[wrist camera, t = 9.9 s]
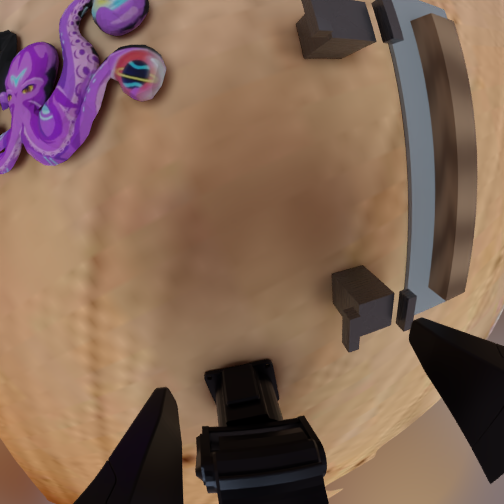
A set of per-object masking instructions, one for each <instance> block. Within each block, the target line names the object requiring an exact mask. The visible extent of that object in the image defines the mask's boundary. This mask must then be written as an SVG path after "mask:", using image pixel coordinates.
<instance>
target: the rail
mask: <svg viewBox="0 0 504 504" xmlns="http://www.w3.org/2000/svg"><path fill="white" fill-rule="evenodd" d="M410 22H411V25H412V29H413V32H414V36H415V39H416V43H417V47H418V51H419V55H420V59H421V64H422V68H423V73H424V78H425V84H426V89H427V95H428V102H429V109H430V117H431V125H432V135H433V147H434V165H435V219H434V237H433V250H432V260H431V269H430V277H429V284H428V288H430V289H431V290H432V291H434V292H435V293H436V294H437V295H439V296H440V297H441V298H442V299H444V300H445V301H447V300H449V299H451V298H453V297H455V296H458V295H460V294H462V293H464V292H465V287H466V282H467V277H468V271H469V266H470V259H471V253H472V246H473V238H474V228H475V217H476V202H477V146H476V131H475V120H474V111H473V104H472V97H471V90H470V85H469V79H468V74H467V69H466V65H465V60H464V56H463V52H462V48H461V44H460V41H459V37H458V34H457V30H456V27H455V24H454V21H452V20H449V19H446V18H444V17H441V16H438V15H436V14H433V13H430V14H427V15H424V16H422V17H419V18H417V19H414V20H412V21H410Z"/></svg>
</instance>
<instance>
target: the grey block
mask: <svg viewBox="0 0 504 504" xmlns="http://www.w3.org/2000/svg"><path fill="white" fill-rule="evenodd" d="M301 1H302V4H303V8H304V11H305V14H304V16H303V17H302V18H301V19H300V20H299V21H298V22H297V23H296V27H297V31H298V35H299V39H300V43H301V48H302V52H303V57H304V59H316V58H327V59H342V58H344V57H346V56H348V55H350V54H352V53H354V52H356V51H358V50H360V49H362V48H364V47H366V46H368V45H371V44H373V43H375V42H376V38H375V34H374V31H373V27H372V24H371V20H370V17H369V14H368V11H367V7H366V4H365V2H361V1H354V0H301ZM371 4H372V7H373V10H374V13H375V16H376V19H377V23H378V26H379V30H380V33H381V37H382V41H383V43H388V44H395V43H398V42H400V41H403V40H404V38H403V34H402V31H401V27H400V24H399V21H398V17H397V14H396V11H395V8H394V5H393V2H392V0H376V1H374V2H373V3H371Z"/></svg>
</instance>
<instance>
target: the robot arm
mask: <svg viewBox="0 0 504 504" xmlns="http://www.w3.org/2000/svg"><path fill="white" fill-rule="evenodd" d="M409 342H410V344H411V346H412V348H413V350H414V351H415V353H416V355H417V357H418V359H419V361H420V363H421V365H422V367H423V369H424V370H425V372H426V374H427V375H428V377H429V379H430V380H431V382H432V383H433V385H434V386H435V388H436V389H437V391H438V393H439V394H440V396H441V397H442V399H443V400H444V402H445V404H446V405H447V407H448V408H449V410H450V412H451V413H452V415H453V417H454V418H455V420H456V422H457V423H458V425H459V427H460V429H461V430H462V432H463V434H464V436H465V437H466V439H467V441H468V443H469V444H470V446H471V447H472V450H473V452H474V454H475V456H476V458H477V459H478V461H479V463H480V465H481V466H482V469H483V471H484V473H485V475H486V477H487V479H488V481H489V482H490V484H491V483H493V482H494V481H495V480H496V479H498V478H499V477H500V476H501V475H502V474H503V473H504V346H502V345H499V344H495V343H493V342H490V341H488V340H485V339H482V338H479V337H476V336H473V335H470V334H468V333H465V332H462V331H459V330H456V329H453V328H450V327H448V326H445V325H442V324H439V323H436V322H433V321H431V320H428V319H425V318H418V319H416V320H414V321H413V322H412V324H411V329H410V334H409ZM266 364H268V365H266ZM209 376H211V377H209ZM204 379H205V381H206V384H207V386H208V388H209V390H210V393H211V395H212V397H213V399H214V401H215V403H216V406H217V416H218V426H219V427H209V426H202V434H200V436H198V437H196V444H197V457H196V469H195V470H196V476H197V477H198V478H200V479H201V480H202V481H203V482H204V485H206V487H207V491H208V493H218V500H219V504H328V503H329V502H328V498H327V494H326V490H325V485H324V479H323V477H324V476H325V474H326V470H327V461H326V455H325V451H324V448H323V446H322V444H321V442H320V440H319V439H318V437H317V435H316V434H315V432H314V431H313V429H312V428H311V426H310V424H309V423H308V421H307V420H306V418H305V416H299V417H297V418H293V419H287V420H283V418H282V414H281V411H280V408H279V404H278V400H279V394H278V389H277V384H276V379H275V374H274V368H273V364H272V361H271V360H269V359H266V360H262V361H257V362H253V363H249V364H244V365H240V366H235V367H230V368H225V369H220V370H215V371H210V372H206V373H205V374H204ZM108 460H109V461H106V463H105V464H104V466H103V467H102V469H101V470H100V472H99V473H98V474H97V476H96V477H95V479H94V480H93V481H92V482H91V483H90V485H89V486H88V487H87V488H86V490H85V491H84V492H83V493H82V494H81V495H80V496H79V498H78V499H77V500H76V501H75V502H74V503H73V504H183V479H182V441H181V433H180V425H179V416H178V407H177V403H176V400H175V399H174V397H173V395H172V394H171V392H170V390H169V389H168V388H167V387H162V388H156V389H155V390H154V392H153V393H152V395H151V396H150V398H149V399H148V401H147V402H146V404H145V405H144V407H143V408H142V410H141V411H140V412H139V414H138V415H137V417H136V418H135V420H134V421H133V423H132V424H131V426H130V427H129V429H128V430H127V432H126V433H125V435H124V436H123V438H122V439H121V441H120V442H119V444H118V445H117V447H116V448H115V450H114V451H113V453H112V454H111V456H110V457H109V459H108Z"/></svg>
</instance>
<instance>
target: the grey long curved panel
mask: <svg viewBox="0 0 504 504" xmlns="http://www.w3.org/2000/svg"><path fill="white" fill-rule="evenodd" d="M392 2H393V5H394V8H395V11H396V14H397V17H398V21H399V24H400V27H401V31H402V34H403V38H404V40H403V41H400V42H398V43H395V44H389V47H390V51H391V56H392V60H393V64H394V69H395V74H396V79H397V84H398V90H399V96H400V102H401V109H402V116H403V124H404V133H405V143H406V154H407V170H408V198H409V221H408V250H407V266H406V278H405V288H404V290H405V289H409V290H410V291H412V292H413V293H414V294H415V295H416V296H417V300H416V306H415V312H414V315H416V314H418V313H420V312H423V311H425V310H427V309H429V308H432V307H434V306H436V305H438V304H441V303H443V302H445V300H444V299H442V298H441V297H440V296H439V295H437V294H436V293H435V292H434V291H432V290H431V289H430V288H428V284H429V277H430V269H431V260H432V250H433V237H434V219H435V165H434V147H433V135H432V125H431V117H430V109H429V102H428V95H427V89H426V84H425V78H424V73H423V68H422V64H421V59H420V55H419V51H418V47H417V43H416V39H415V36H414V32H413V29H412V25H411V22H410V21H412V20H414V19H417V18H419V17H422V16H424V15H427V14H430V13H433V14H436V15H438V16H441V17H444V18H446V19H447V16H446V13H445V11H444V10H443V9H441V8H438V7H436V6H433V5H430V4H427V3H425V2H422V1H419V0H392Z"/></svg>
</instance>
